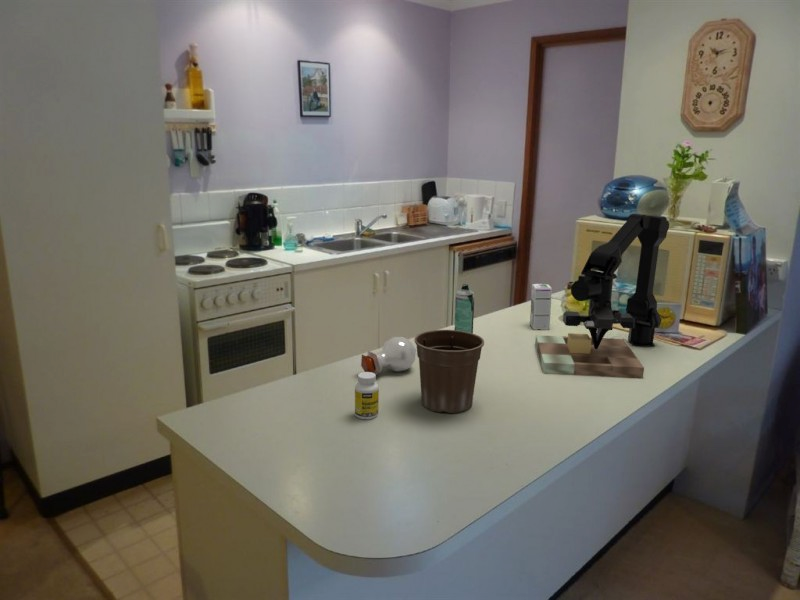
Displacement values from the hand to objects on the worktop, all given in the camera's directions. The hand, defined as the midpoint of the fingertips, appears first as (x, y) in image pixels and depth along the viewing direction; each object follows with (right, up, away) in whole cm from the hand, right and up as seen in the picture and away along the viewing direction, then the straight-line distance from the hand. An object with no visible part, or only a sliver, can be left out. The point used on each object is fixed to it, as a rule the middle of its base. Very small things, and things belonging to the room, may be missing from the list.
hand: (595, 348), depth 177 cm
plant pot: (-44, -11, -28) cm, 54 cm away
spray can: (-37, -1, +9) cm, 38 cm away
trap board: (-3, -3, +1) cm, 5 cm away
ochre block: (-5, 0, +1) cm, 5 cm away
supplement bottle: (-63, -13, -35) cm, 73 cm away
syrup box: (-9, +4, +31) cm, 33 cm away
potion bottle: (-58, -6, -9) cm, 59 cm away
